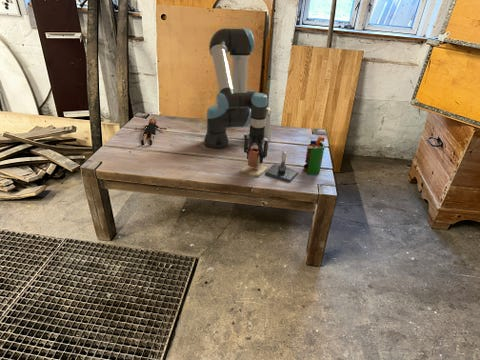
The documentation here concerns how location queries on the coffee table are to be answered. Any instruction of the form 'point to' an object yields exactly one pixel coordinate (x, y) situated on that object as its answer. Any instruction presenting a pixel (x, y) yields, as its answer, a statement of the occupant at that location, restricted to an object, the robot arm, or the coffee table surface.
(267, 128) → the grater
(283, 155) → the grey peg stand
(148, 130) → the woman figure
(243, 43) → the robot arm
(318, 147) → the motor
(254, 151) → the square copper sleeve
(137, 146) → the coffee table surface
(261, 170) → the plywood pad
